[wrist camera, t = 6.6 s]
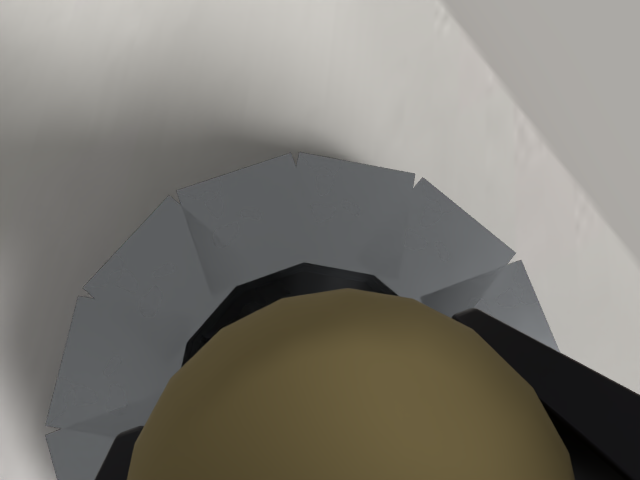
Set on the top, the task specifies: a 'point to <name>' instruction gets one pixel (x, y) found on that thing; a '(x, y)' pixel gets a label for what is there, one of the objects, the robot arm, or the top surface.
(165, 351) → the ring
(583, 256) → the top surface
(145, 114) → the top surface
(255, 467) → the cork
